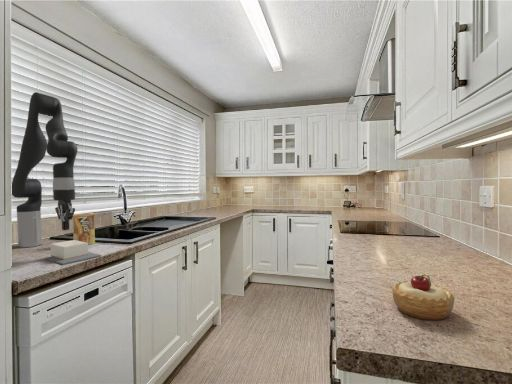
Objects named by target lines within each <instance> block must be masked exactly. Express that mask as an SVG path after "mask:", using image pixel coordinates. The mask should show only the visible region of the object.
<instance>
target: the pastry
mask: <svg viewBox="0 0 512 384" xmlns="http://www.w3.org/2000/svg"><path fill="white" fill-rule="evenodd" d="M391 289H392V290H391V292H392V299H393V302H394V304H395V306H396V307H397V309H398V310H399V311H400V312H401V313H403V314H405V315H407V316H410V317H413V318H416V319H419V320H425V321H443V320H445V319H446V318H448V317H449V316H450V315H451V313H452V311H453V309H454V305H455V297H454V295H453V294H452V293H451V291H450V290H449V289H446V288H445V287H443V286H441V287H440V286H439V285H438V284H432V282H431V278H430V275H428V274H427V273H424V274H422V275H415V276H413V277H411V278H410V281H407V280H405V281H399V282H397V283H396V284H394V285H393V287H392V288H391Z"/></svg>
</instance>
